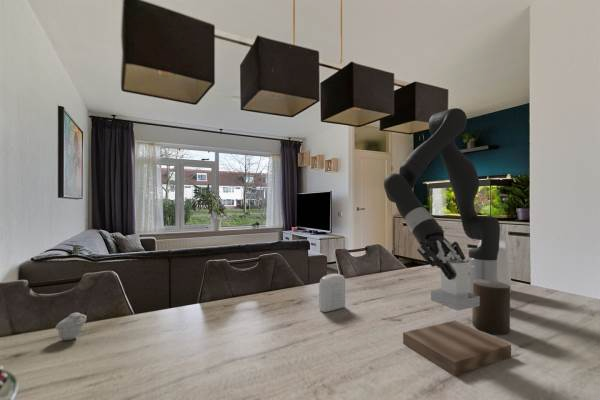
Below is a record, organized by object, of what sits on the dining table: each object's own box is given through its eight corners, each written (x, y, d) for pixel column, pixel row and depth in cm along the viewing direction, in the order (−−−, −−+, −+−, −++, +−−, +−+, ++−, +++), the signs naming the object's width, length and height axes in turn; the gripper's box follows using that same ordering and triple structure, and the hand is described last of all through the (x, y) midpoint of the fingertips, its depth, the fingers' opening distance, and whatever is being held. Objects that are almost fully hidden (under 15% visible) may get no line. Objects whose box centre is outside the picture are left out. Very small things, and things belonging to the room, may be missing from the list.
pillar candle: (498, 337, 83) (499, 285, 83) (465, 324, 92) (466, 276, 92) (516, 331, 88) (517, 281, 88) (483, 319, 96) (484, 273, 96)
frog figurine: (88, 338, 82) (88, 313, 83) (56, 347, 78) (56, 320, 78) (84, 331, 87) (84, 308, 87) (53, 339, 82) (53, 314, 82)
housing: (451, 296, 82) (452, 257, 82) (479, 306, 75) (479, 263, 74) (430, 300, 79) (431, 259, 79) (457, 310, 71) (457, 265, 71)
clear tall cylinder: (474, 290, 127) (474, 230, 127) (479, 284, 135) (479, 228, 135) (508, 296, 119) (508, 232, 119) (511, 290, 128) (511, 230, 128)
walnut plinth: (454, 330, 88) (454, 320, 88) (511, 356, 73) (511, 344, 73) (403, 343, 80) (403, 332, 80) (454, 375, 65) (454, 362, 65)
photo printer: (339, 304, 110) (339, 271, 110) (347, 307, 106) (347, 273, 106) (317, 309, 104) (317, 275, 104) (324, 313, 101) (324, 277, 101)
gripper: (411, 218, 81) (449, 272, 70) (448, 217, 87) (488, 266, 76) (397, 235, 86) (431, 287, 75) (433, 233, 92) (469, 281, 81)
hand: (459, 276), depth 75 cm, fingers closed on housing, 4 cm apart
